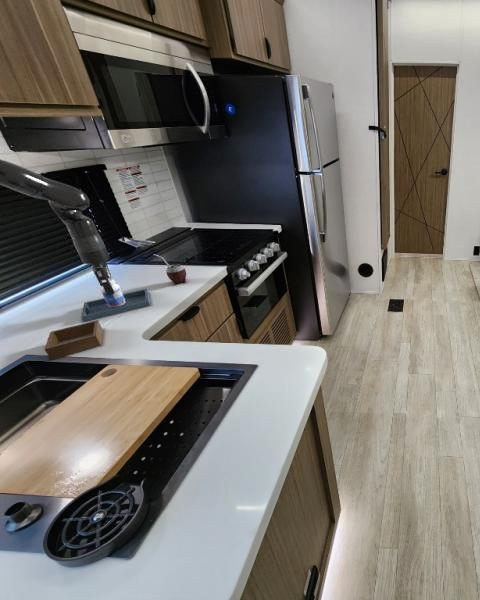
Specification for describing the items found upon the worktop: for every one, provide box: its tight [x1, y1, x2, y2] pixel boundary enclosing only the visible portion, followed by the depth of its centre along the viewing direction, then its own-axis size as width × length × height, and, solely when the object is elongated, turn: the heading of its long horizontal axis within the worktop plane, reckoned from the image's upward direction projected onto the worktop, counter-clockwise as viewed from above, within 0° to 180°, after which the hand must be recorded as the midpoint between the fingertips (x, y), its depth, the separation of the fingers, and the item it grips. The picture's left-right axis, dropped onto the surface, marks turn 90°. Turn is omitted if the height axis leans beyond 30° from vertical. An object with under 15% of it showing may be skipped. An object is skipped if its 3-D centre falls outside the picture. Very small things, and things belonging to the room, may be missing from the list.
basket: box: [44, 319, 104, 361], centre depth 103 cm, size 12×12×4 cm
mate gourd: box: [152, 253, 187, 286], centre depth 141 cm, size 8×8×15 cm
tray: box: [80, 288, 151, 323], centre depth 125 cm, size 20×14×3 cm
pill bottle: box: [100, 278, 126, 307], centre depth 123 cm, size 6×5×10 cm
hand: (111, 291), depth 122 cm, fingers closed on pill bottle, 5 cm apart
